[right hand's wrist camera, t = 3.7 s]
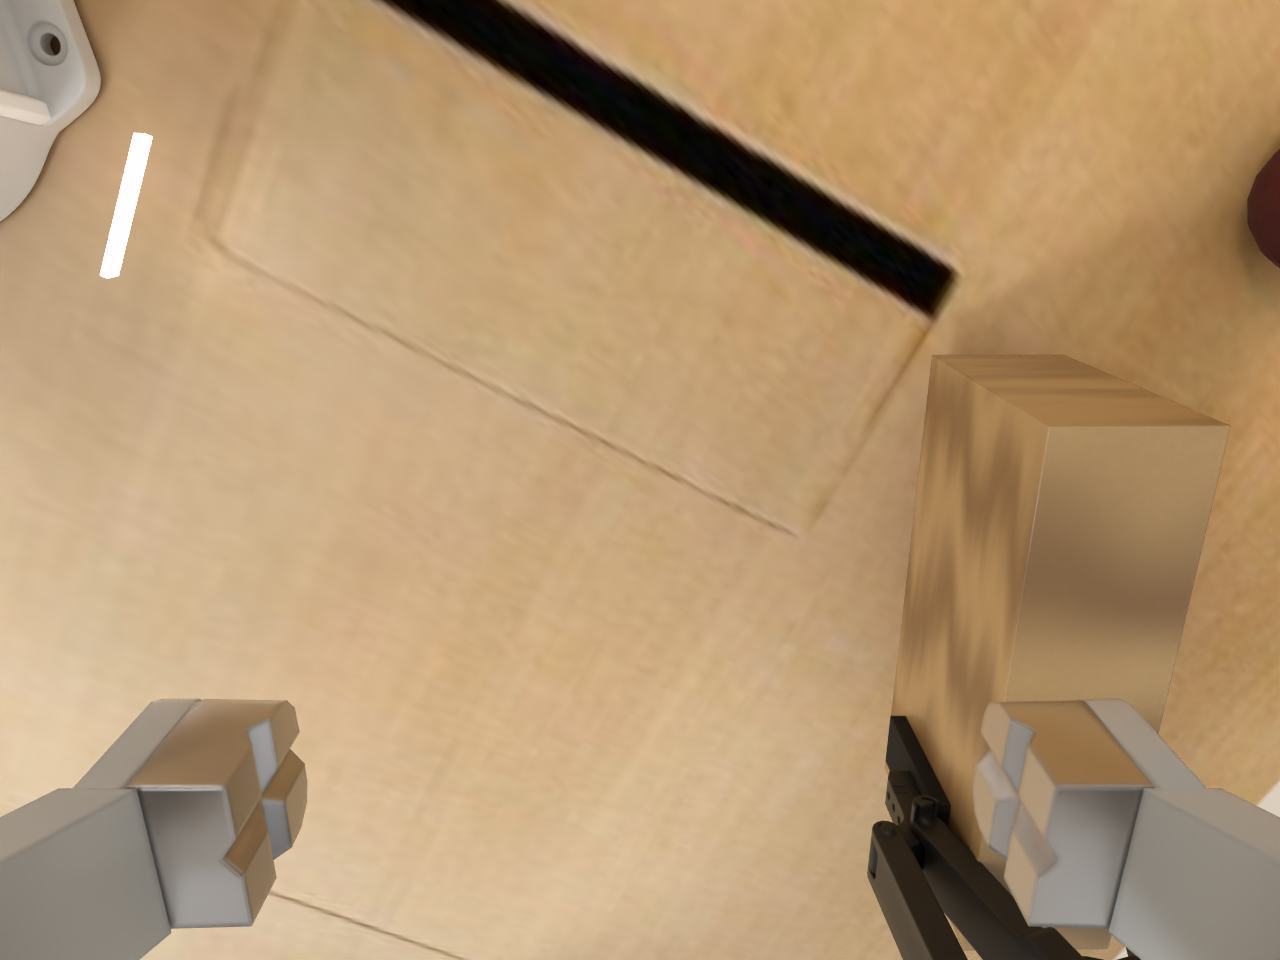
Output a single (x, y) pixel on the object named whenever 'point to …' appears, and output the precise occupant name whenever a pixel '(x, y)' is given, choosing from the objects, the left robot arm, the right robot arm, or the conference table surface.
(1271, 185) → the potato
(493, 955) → the conference table surface
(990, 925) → the left robot arm
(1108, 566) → the box
